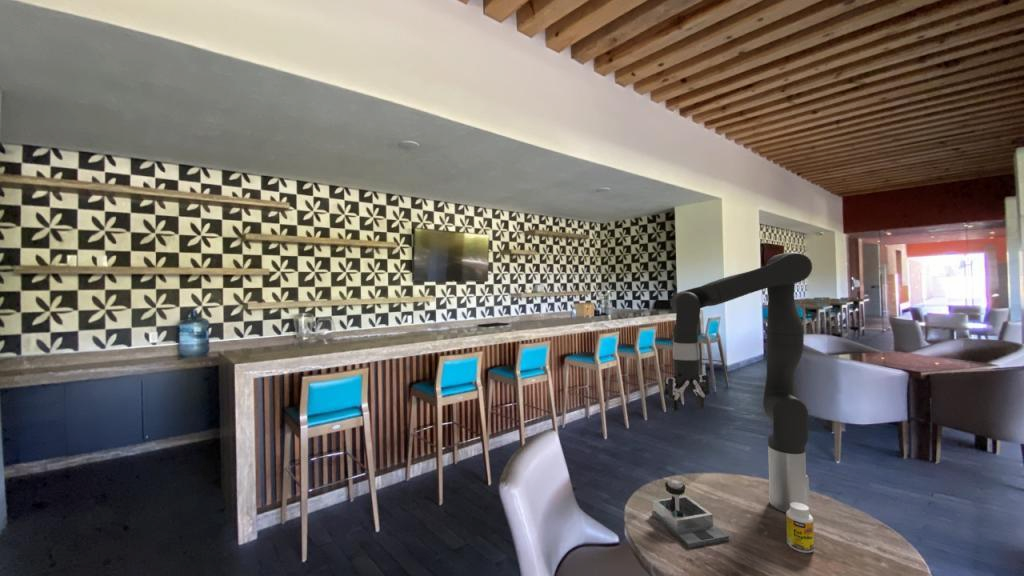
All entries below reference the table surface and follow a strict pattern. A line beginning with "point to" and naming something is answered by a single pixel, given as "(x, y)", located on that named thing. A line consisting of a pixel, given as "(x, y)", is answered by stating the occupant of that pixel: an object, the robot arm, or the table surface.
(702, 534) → the gray open box
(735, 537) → the table surface
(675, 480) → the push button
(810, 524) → the supplement bottle
